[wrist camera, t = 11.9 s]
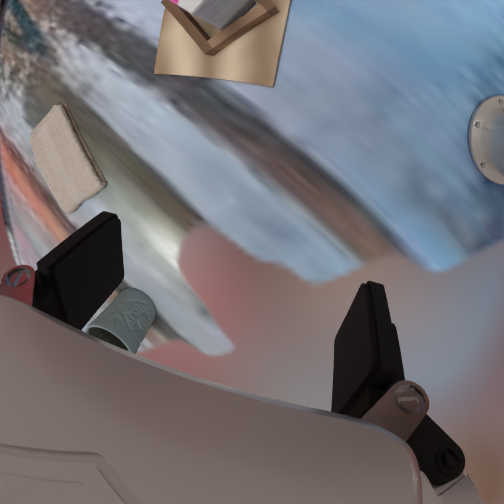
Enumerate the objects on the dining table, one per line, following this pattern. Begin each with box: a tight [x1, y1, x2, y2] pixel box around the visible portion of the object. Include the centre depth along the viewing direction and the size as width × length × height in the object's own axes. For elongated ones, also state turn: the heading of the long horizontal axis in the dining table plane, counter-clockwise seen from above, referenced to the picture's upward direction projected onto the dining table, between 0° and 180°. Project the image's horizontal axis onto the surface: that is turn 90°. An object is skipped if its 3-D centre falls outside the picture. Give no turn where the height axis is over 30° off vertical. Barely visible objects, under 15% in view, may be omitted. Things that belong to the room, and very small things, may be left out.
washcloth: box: [30, 102, 107, 214], centre depth 44 cm, size 12×18×3 cm, turn 27°
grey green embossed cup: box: [86, 288, 156, 354], centre depth 53 cm, size 10×10×12 cm
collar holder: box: [154, 0, 291, 87], centre depth 28 cm, size 16×18×4 cm
